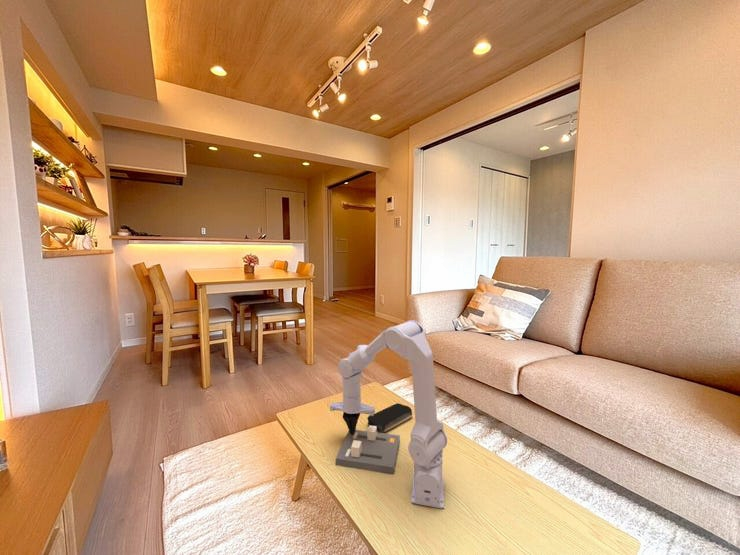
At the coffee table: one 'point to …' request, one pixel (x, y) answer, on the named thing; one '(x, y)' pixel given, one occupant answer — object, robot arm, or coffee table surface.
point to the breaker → (356, 448)
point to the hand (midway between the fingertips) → (352, 432)
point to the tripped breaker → (372, 433)
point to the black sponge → (390, 417)
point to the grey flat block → (370, 452)
